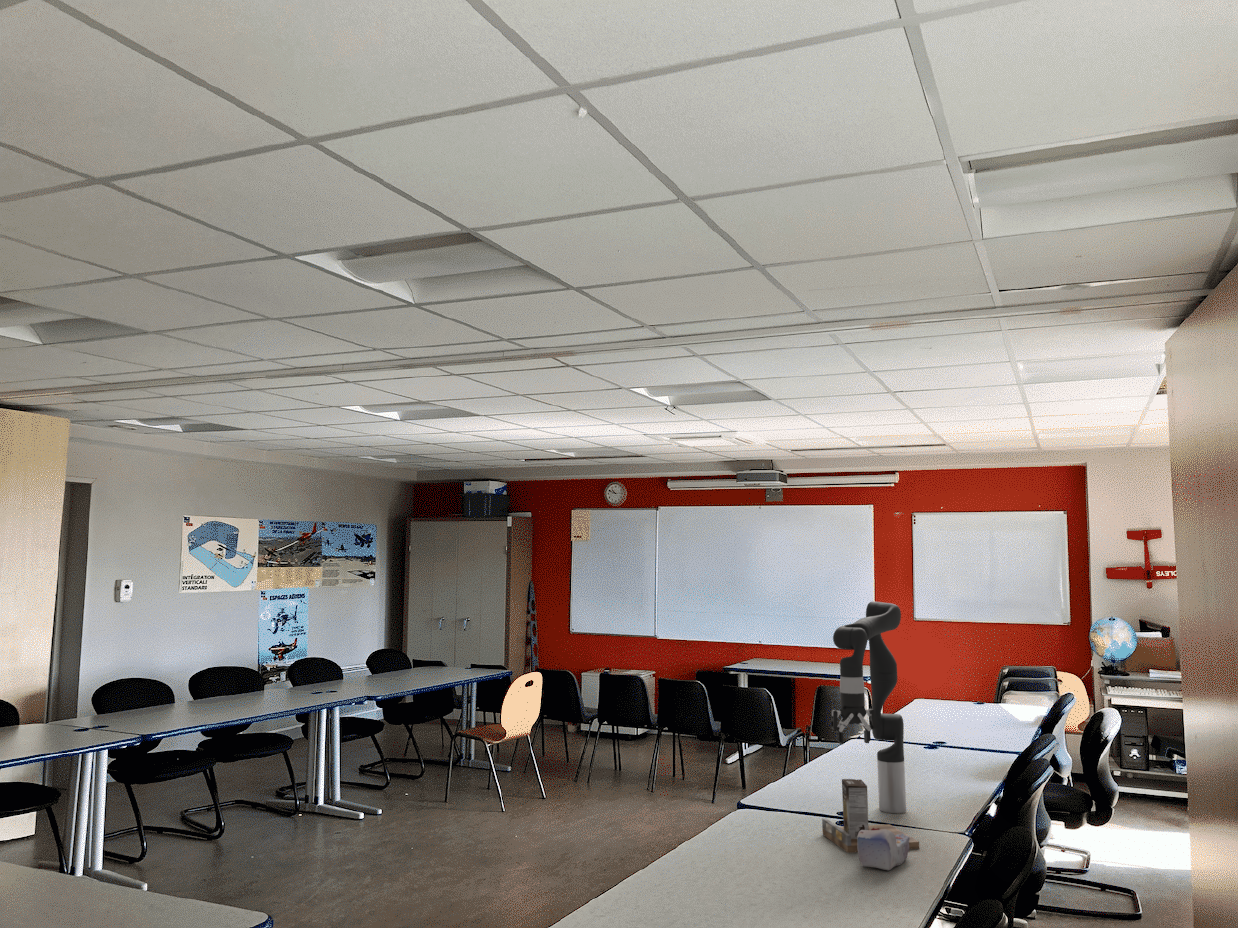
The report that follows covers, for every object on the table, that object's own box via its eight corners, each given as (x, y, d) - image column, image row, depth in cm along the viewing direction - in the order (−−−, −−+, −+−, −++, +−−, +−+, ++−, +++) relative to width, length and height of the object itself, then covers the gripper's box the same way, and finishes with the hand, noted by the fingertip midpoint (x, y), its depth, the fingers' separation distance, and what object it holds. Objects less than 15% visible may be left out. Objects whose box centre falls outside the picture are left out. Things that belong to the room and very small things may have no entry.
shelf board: (821, 834, 299) (821, 818, 299) (889, 830, 302) (889, 814, 303) (846, 852, 279) (846, 835, 280) (919, 848, 283) (918, 831, 283)
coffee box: (842, 831, 295) (841, 778, 297) (863, 831, 295) (861, 778, 297) (848, 839, 286) (846, 785, 288) (869, 839, 286) (867, 785, 288)
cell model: (852, 829, 265) (866, 814, 283) (853, 869, 263) (867, 852, 281) (899, 834, 259) (910, 819, 277) (901, 875, 258) (912, 857, 276)
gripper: (835, 693, 291) (837, 746, 289) (878, 691, 293) (880, 744, 291) (826, 690, 298) (828, 741, 296) (868, 688, 300) (870, 740, 298)
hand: (854, 743), depth 294 cm, fingers open, 8 cm apart
